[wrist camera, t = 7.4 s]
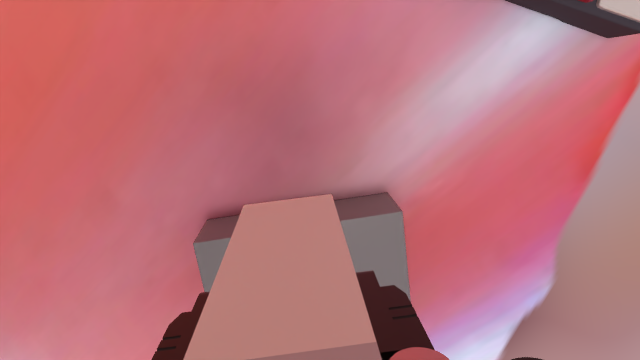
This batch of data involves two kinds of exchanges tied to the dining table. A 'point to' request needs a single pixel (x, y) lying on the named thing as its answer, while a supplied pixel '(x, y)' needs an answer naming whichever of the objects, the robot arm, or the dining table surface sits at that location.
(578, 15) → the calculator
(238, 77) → the dining table surface
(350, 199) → the header
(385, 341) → the robot arm
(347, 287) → the pale square peg
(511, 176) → the dining table surface
